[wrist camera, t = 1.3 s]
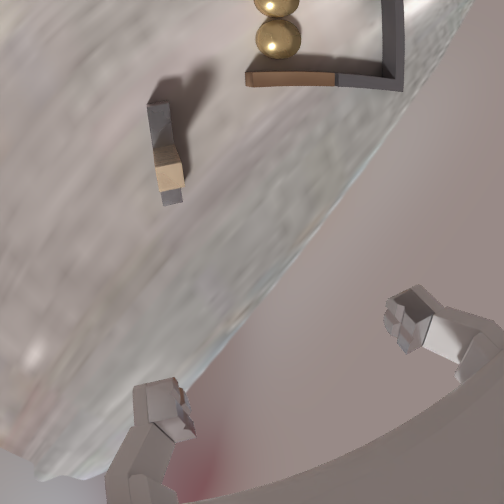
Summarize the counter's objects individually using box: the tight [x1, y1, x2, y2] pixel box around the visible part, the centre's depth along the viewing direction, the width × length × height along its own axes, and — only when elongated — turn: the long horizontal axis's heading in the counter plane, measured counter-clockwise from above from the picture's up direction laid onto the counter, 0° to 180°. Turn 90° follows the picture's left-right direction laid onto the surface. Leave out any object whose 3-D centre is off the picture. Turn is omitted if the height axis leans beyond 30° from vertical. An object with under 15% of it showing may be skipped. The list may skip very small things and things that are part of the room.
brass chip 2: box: [256, 20, 301, 59], centre depth 25 cm, size 4×4×2 cm
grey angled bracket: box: [329, 0, 405, 92], centre depth 26 cm, size 15×10×2 cm, turn 2°
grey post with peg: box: [147, 100, 185, 206], centre depth 25 cm, size 10×2×9 cm, turn 2°
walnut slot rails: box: [245, 71, 335, 87], centre depth 23 cm, size 15×9×2 cm, turn 2°
